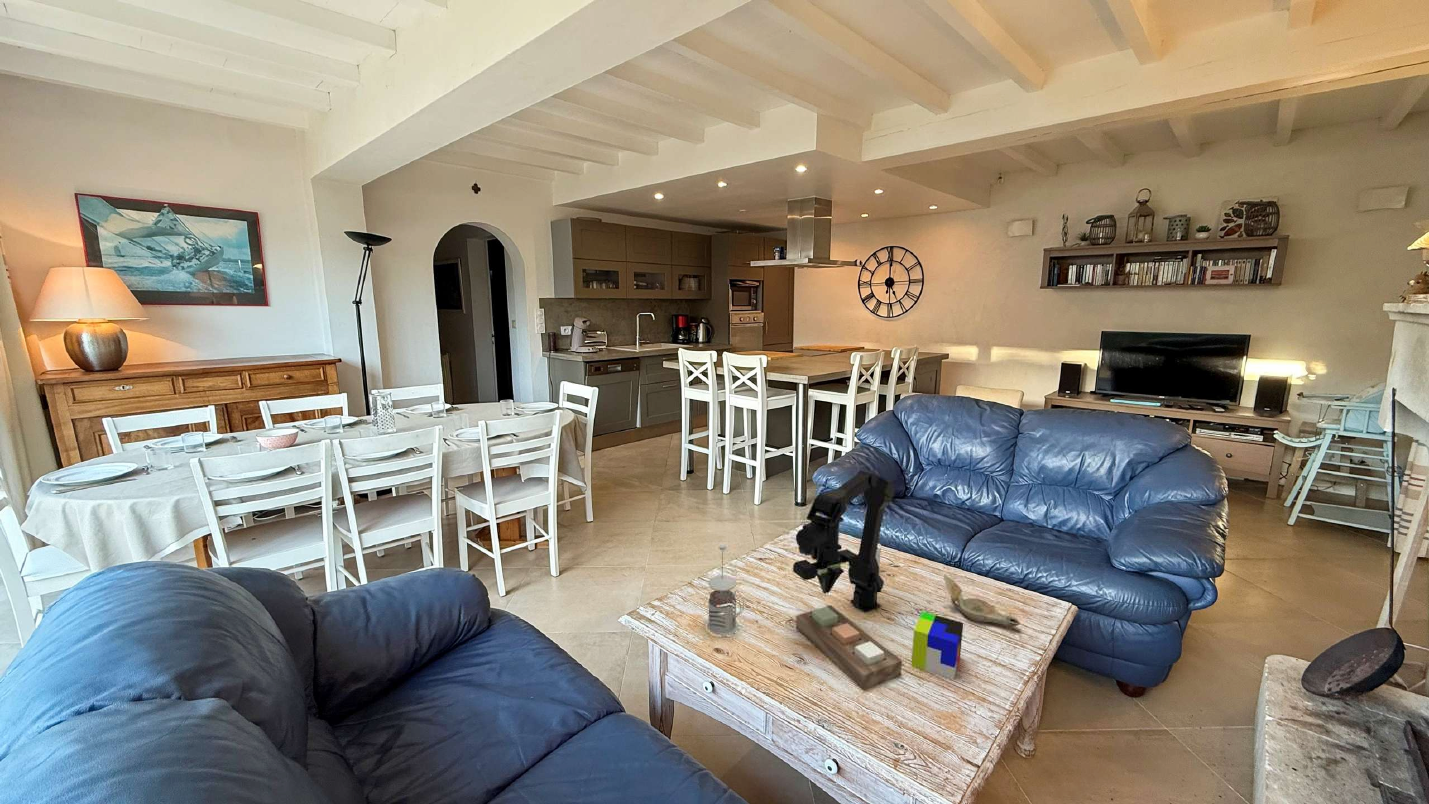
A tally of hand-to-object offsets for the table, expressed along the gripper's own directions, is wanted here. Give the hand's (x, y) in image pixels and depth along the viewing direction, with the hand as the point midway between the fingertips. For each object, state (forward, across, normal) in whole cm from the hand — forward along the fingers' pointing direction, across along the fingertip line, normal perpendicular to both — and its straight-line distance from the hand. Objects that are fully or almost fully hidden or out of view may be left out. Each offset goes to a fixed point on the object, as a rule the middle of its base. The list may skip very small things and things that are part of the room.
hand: (825, 592), depth 153 cm
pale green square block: (+9, 0, 0) cm, 9 cm away
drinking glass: (+12, -35, -21) cm, 43 cm away
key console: (+12, 0, +9) cm, 15 cm away
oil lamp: (+12, -45, +14) cm, 49 cm away
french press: (+12, +24, -14) cm, 30 cm away
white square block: (+9, 0, +18) cm, 20 cm away
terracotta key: (+9, 0, +9) cm, 13 cm away
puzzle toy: (+12, -18, +23) cm, 32 cm away
